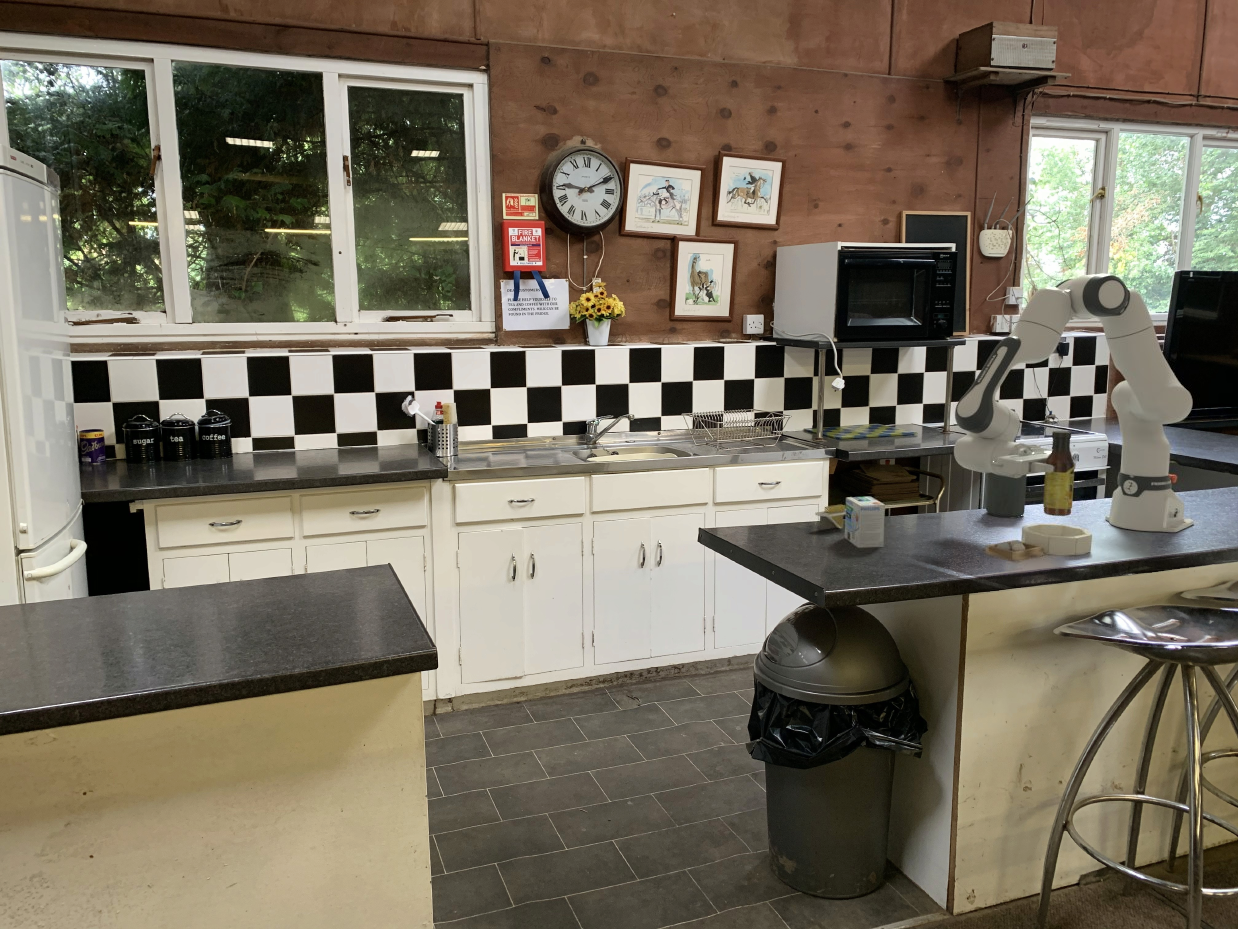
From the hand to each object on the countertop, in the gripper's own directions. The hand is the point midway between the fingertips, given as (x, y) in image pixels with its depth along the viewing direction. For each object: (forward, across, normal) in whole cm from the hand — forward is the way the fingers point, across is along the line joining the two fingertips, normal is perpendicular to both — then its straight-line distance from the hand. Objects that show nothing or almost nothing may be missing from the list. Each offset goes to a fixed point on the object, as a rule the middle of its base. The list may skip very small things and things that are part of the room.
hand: (1063, 467), depth 221 cm
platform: (-47, -28, +21) cm, 59 cm away
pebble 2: (-3, -12, +20) cm, 23 cm away
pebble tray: (-2, -14, +20) cm, 25 cm away
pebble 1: (-3, -16, +20) cm, 26 cm away
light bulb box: (-32, -32, +21) cm, 50 cm away
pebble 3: (0, -14, +20) cm, 24 cm away
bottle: (-34, +25, +21) cm, 47 cm away
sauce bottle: (-1, 0, +12) cm, 12 cm away
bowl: (-1, 0, +20) cm, 20 cm away
